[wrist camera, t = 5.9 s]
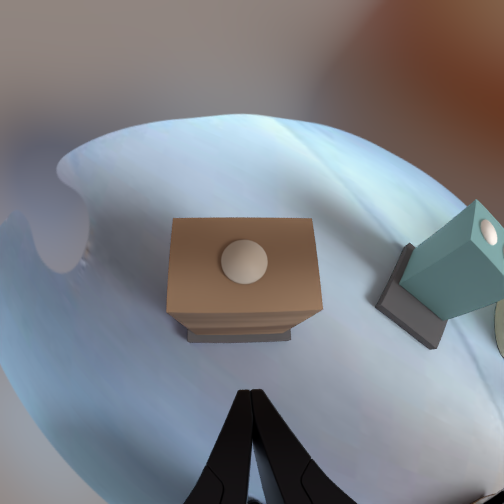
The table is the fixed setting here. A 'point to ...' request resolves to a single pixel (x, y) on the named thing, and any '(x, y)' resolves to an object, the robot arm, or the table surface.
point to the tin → (482, 499)
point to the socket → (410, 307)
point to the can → (500, 325)
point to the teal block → (459, 265)
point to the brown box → (243, 274)
